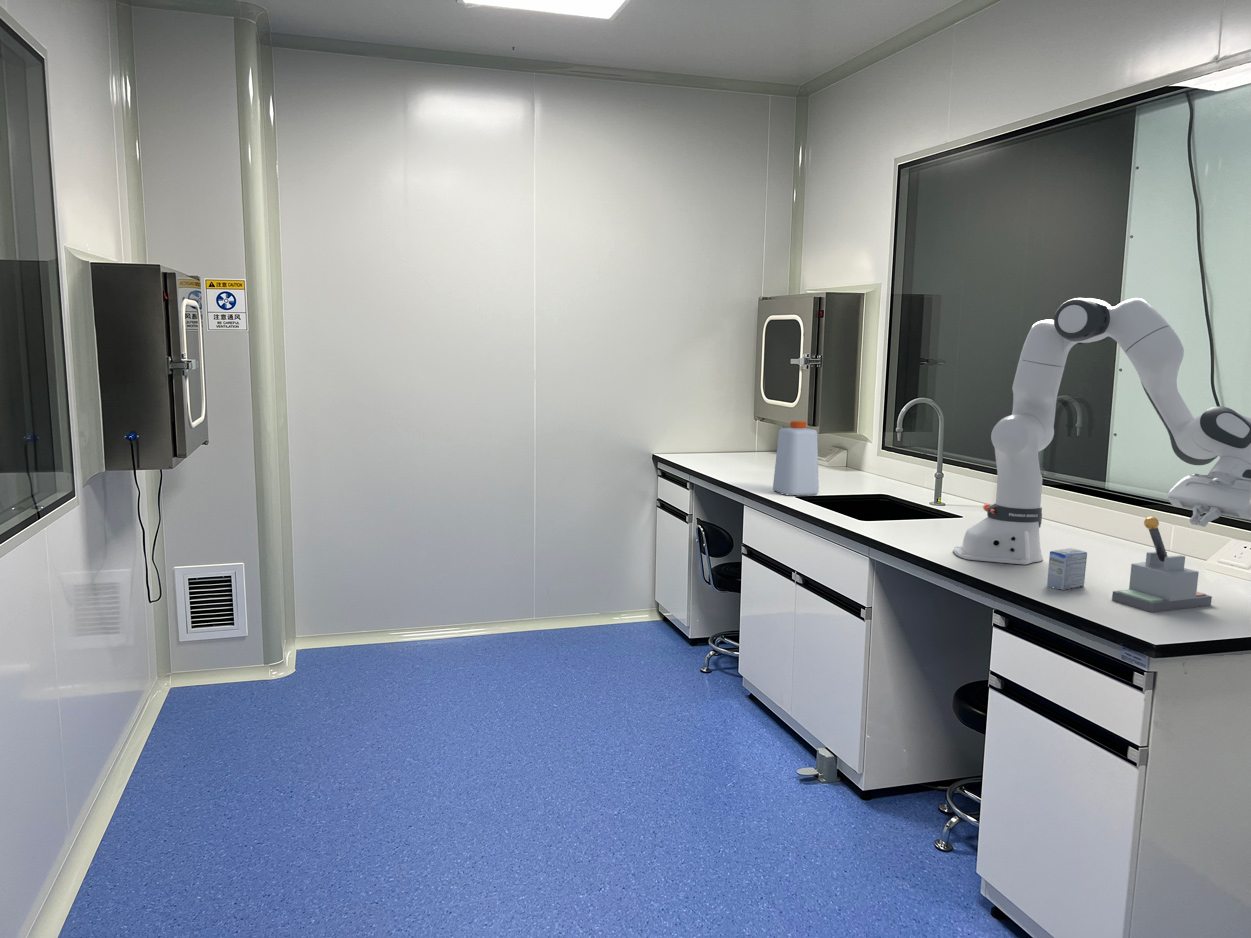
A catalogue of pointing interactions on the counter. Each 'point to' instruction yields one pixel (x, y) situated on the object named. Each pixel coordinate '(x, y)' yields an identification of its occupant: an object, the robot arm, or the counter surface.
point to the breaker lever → (1156, 537)
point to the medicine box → (1067, 568)
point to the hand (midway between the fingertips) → (1196, 523)
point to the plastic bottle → (797, 461)
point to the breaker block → (1162, 585)
